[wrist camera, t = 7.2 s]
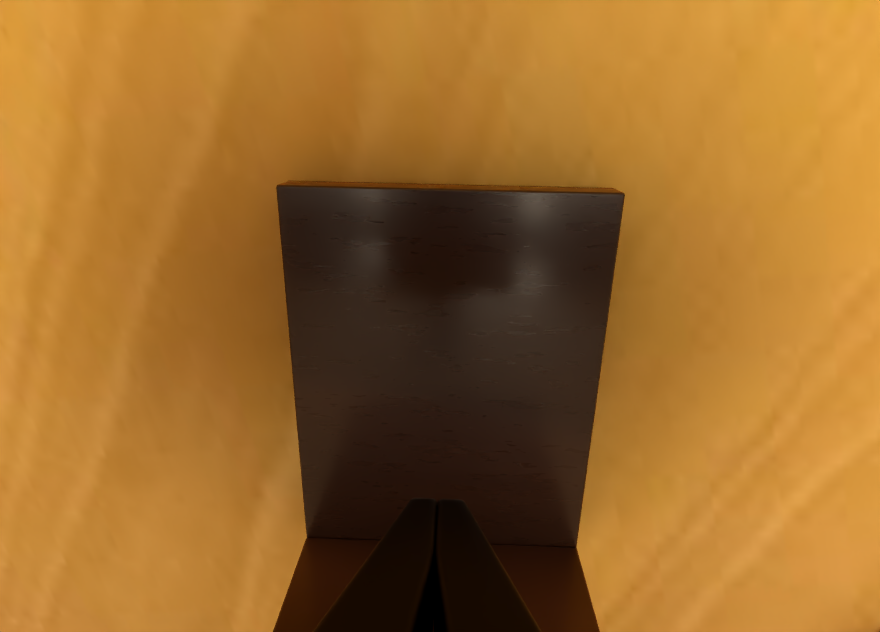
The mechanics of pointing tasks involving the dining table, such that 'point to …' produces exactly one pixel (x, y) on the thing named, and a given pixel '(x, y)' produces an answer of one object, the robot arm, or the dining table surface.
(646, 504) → the dining table surface
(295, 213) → the bookend
